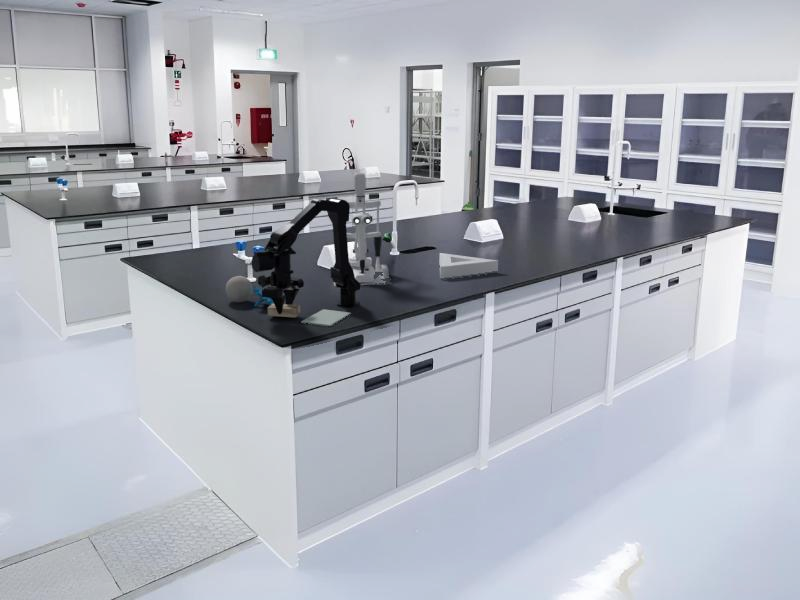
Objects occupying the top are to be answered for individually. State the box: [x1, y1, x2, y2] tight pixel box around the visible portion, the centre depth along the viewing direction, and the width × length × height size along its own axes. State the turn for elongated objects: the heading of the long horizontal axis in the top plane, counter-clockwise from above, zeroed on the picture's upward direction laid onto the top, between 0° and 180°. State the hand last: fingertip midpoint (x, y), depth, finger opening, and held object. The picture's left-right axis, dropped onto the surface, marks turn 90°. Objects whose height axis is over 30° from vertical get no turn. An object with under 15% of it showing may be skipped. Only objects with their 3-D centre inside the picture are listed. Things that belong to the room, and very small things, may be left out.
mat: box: [301, 308, 352, 328], centre depth 243 cm, size 16×11×1 cm
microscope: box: [332, 172, 390, 288], centre depth 294 cm, size 24×27×45 cm
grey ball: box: [225, 275, 254, 303], centre depth 261 cm, size 10×10×10 cm
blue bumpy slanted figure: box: [253, 286, 274, 308], centre depth 256 cm, size 11×6×10 cm
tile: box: [267, 303, 301, 318], centre depth 242 cm, size 5×10×3 cm, turn 80°
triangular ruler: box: [438, 252, 499, 279], centre depth 313 cm, size 30×26×6 cm
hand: (284, 311), depth 243 cm, fingers closed on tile, 5 cm apart
